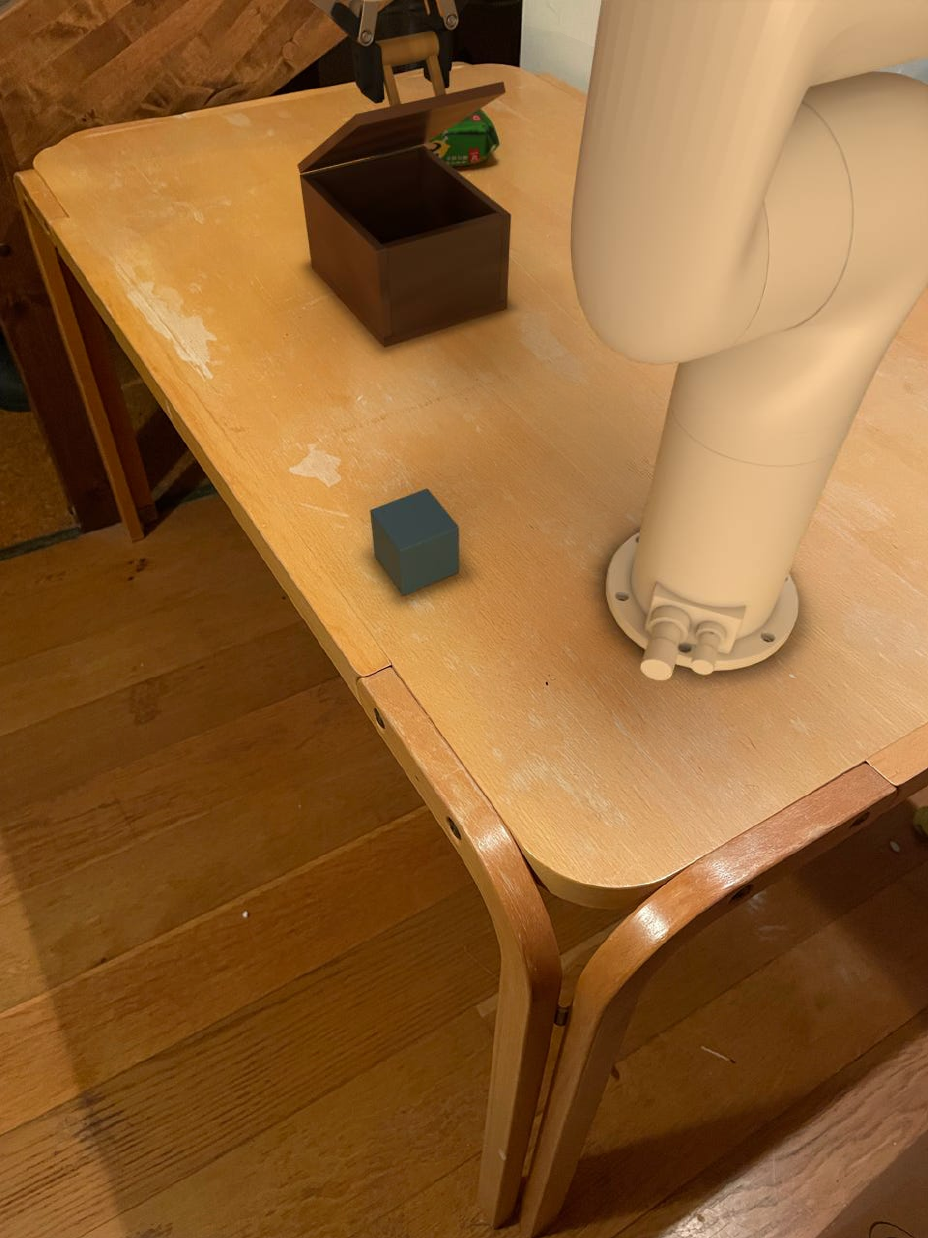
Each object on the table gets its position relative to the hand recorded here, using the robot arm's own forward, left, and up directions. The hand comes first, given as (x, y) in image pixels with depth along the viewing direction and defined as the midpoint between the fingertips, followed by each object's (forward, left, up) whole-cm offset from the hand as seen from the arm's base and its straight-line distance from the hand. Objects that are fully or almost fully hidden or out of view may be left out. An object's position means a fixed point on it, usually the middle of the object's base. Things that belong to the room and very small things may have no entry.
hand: (404, 87), depth 71 cm
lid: (+1, +2, -4) cm, 5 cm away
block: (-32, -14, -18) cm, 39 cm away
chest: (+1, +1, -18) cm, 18 cm away
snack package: (+27, +9, -18) cm, 34 cm away
